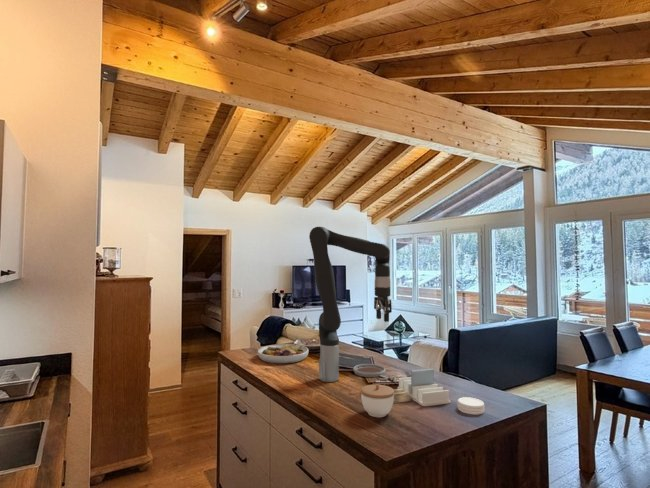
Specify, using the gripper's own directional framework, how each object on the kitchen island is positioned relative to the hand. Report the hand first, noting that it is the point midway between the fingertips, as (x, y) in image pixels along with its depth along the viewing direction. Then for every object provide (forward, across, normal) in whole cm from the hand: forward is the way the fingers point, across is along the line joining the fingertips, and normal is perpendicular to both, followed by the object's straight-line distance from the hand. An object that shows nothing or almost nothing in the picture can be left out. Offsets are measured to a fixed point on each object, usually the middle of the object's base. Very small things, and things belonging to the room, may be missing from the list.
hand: (382, 320), depth 184 cm
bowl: (+31, -61, -36) cm, 77 cm away
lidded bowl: (+30, +31, -17) cm, 47 cm away
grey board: (+29, +19, +10) cm, 36 cm away
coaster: (+31, +38, +20) cm, 53 cm away
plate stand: (+30, +19, -4) cm, 36 cm away
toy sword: (+31, -14, +3) cm, 34 cm away
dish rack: (+30, +19, +10) cm, 37 cm away
